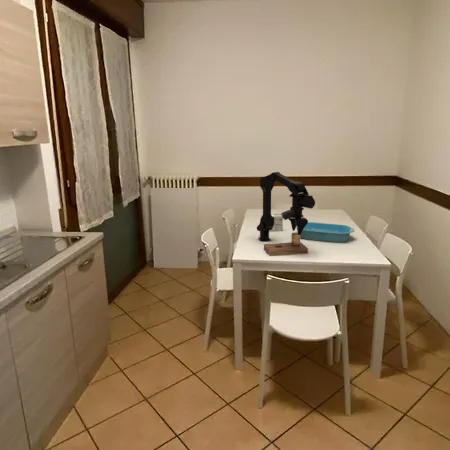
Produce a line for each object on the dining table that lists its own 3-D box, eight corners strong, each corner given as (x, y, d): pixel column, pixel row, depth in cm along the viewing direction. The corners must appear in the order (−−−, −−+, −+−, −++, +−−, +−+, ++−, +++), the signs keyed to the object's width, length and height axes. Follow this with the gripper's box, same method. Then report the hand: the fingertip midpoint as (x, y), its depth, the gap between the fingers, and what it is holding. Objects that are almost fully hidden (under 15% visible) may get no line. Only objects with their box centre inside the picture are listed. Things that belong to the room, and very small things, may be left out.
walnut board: (263, 249, 212) (263, 244, 211) (300, 246, 215) (300, 241, 214) (269, 256, 200) (269, 250, 200) (307, 253, 203) (308, 248, 203)
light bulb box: (281, 228, 254) (281, 213, 251) (282, 231, 247) (283, 215, 245) (265, 229, 254) (265, 213, 251) (267, 231, 247) (267, 216, 244)
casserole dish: (354, 235, 237) (355, 224, 235) (353, 245, 217) (354, 233, 215) (297, 230, 249) (297, 220, 248) (291, 239, 229) (291, 228, 227)
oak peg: (290, 249, 210) (290, 232, 208) (298, 249, 211) (298, 232, 208) (292, 252, 206) (293, 235, 203) (300, 251, 206) (301, 234, 204)
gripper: (278, 202, 209) (277, 229, 213) (288, 209, 192) (287, 238, 196) (296, 202, 211) (296, 228, 215) (308, 208, 193) (307, 237, 197)
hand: (296, 232), depth 206 cm, fingers open, 9 cm apart
